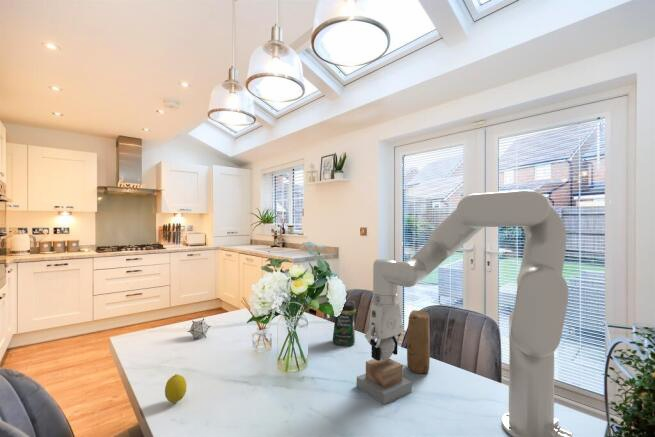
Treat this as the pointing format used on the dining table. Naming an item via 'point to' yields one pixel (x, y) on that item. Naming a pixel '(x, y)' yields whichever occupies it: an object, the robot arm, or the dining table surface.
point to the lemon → (175, 388)
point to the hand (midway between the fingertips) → (384, 355)
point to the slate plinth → (381, 393)
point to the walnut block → (384, 372)
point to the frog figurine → (386, 348)
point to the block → (418, 342)
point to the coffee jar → (345, 325)
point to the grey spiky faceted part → (199, 329)
